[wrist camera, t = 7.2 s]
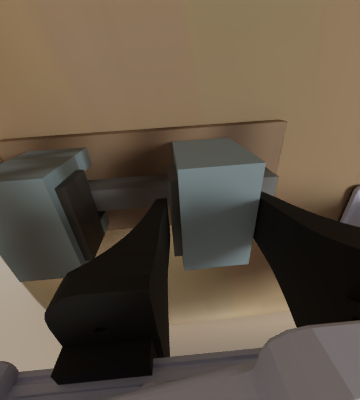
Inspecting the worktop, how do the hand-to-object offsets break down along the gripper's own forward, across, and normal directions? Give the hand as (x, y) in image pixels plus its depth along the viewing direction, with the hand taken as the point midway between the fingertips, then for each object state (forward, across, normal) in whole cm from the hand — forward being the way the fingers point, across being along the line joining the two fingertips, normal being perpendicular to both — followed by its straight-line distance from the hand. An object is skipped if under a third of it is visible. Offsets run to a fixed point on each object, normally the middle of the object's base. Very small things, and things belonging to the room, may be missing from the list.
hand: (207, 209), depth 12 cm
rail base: (+5, +4, 0) cm, 6 cm away
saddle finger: (+4, 0, 0) cm, 4 cm away
